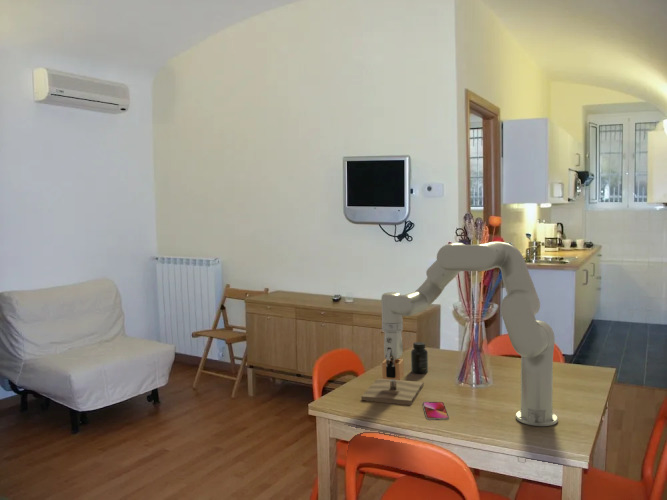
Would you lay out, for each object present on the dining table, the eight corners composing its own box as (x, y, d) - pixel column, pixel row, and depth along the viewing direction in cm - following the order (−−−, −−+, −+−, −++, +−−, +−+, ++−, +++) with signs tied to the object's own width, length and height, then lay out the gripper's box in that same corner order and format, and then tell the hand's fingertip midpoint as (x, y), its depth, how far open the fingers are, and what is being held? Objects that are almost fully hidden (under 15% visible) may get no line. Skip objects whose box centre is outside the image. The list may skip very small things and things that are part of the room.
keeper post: (396, 390, 216) (395, 369, 216) (389, 389, 217) (388, 368, 217) (397, 388, 219) (397, 367, 218) (390, 387, 220) (390, 366, 219)
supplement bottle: (408, 370, 246) (407, 342, 245) (422, 368, 248) (421, 340, 248) (417, 375, 239) (416, 346, 238) (431, 372, 242) (430, 343, 241)
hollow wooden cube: (399, 380, 213) (399, 363, 213) (382, 378, 216) (382, 362, 215) (403, 375, 219) (403, 359, 219) (386, 373, 222) (386, 358, 221)
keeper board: (411, 404, 205) (411, 400, 205) (361, 400, 211) (361, 396, 211) (423, 385, 225) (423, 381, 225) (377, 382, 231) (377, 378, 231)
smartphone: (426, 418, 191) (422, 401, 206) (426, 421, 191) (422, 404, 206) (449, 418, 190) (443, 401, 205) (449, 421, 190) (443, 404, 205)
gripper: (396, 332, 207) (397, 382, 208) (407, 322, 223) (408, 368, 224) (376, 331, 209) (377, 380, 211) (388, 321, 225) (389, 367, 227)
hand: (393, 374), depth 217 cm, fingers closed on hollow wooden cube, 6 cm apart
